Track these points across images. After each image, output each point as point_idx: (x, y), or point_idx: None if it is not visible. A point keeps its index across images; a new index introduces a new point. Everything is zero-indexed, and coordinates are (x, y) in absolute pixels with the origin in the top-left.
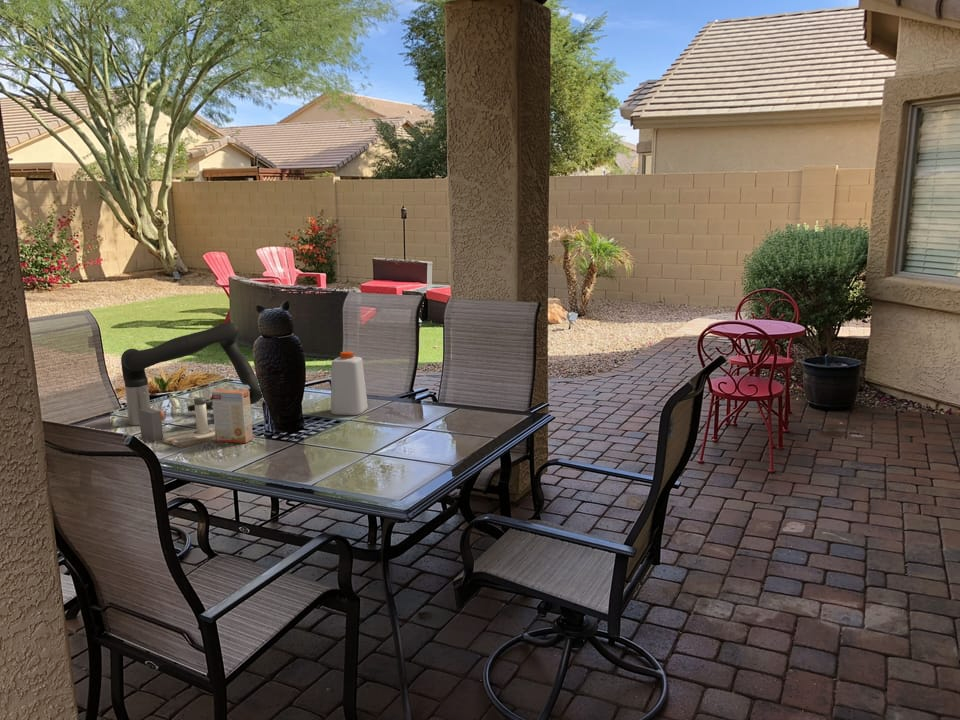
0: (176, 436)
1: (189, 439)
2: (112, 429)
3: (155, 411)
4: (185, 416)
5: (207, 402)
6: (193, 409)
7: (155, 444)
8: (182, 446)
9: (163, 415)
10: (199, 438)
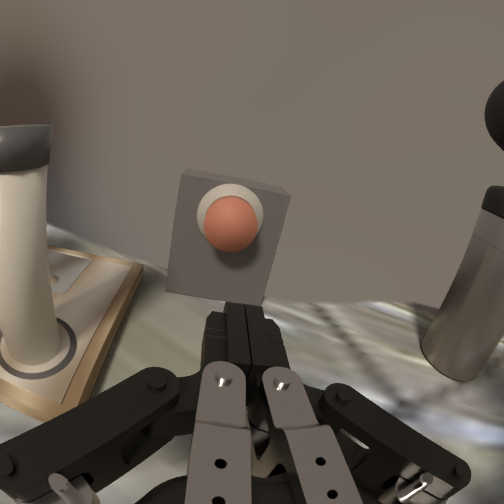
0: (106, 280)
1: None
2: (405, 305)
3: (198, 174)
4: (493, 488)
5: (184, 487)
6: (203, 342)
7: (144, 262)
8: None
9: (205, 217)
10: None
